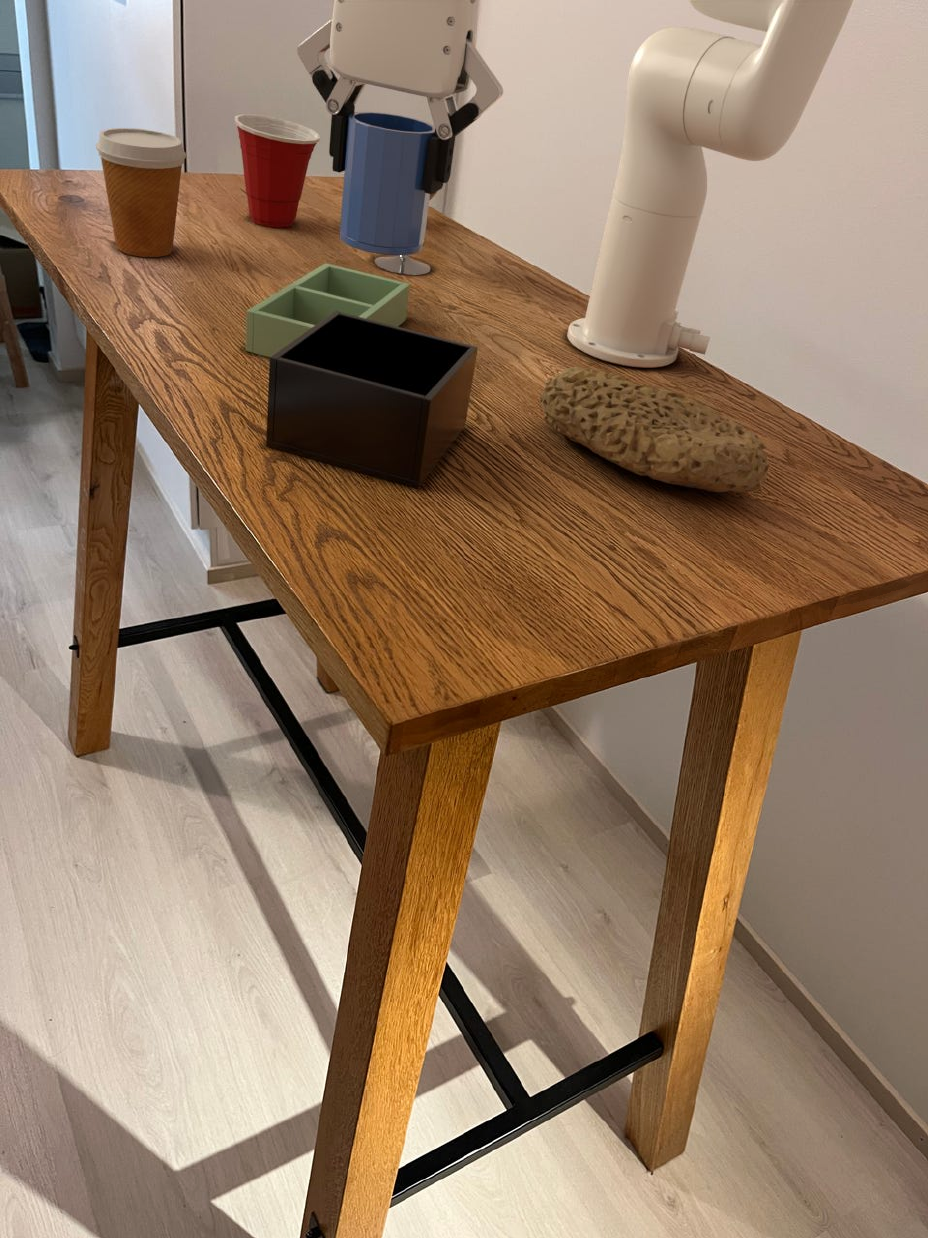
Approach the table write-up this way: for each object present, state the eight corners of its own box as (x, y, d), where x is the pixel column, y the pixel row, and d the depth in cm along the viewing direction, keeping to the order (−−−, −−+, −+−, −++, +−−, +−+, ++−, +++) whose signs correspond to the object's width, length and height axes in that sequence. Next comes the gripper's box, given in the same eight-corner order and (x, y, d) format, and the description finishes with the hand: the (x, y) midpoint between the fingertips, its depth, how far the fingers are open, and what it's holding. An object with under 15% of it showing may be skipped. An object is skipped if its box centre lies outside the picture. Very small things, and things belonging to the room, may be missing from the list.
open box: (464, 427, 91) (478, 346, 87) (417, 488, 81) (430, 400, 76) (328, 391, 93) (335, 310, 89) (265, 446, 83) (269, 357, 78)
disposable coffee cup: (204, 253, 120) (204, 144, 113) (142, 267, 113) (138, 151, 106) (146, 231, 123) (143, 124, 116) (82, 243, 116) (75, 129, 109)
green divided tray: (406, 319, 112) (410, 283, 110) (340, 376, 97) (343, 335, 94) (322, 298, 113) (325, 262, 111) (245, 350, 98) (246, 310, 96)
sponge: (519, 443, 93) (681, 504, 79) (536, 356, 91) (706, 404, 76) (618, 449, 101) (781, 505, 87) (636, 369, 99) (807, 414, 85)
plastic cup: (308, 239, 131) (315, 138, 124) (224, 225, 130) (226, 123, 123) (319, 217, 140) (326, 122, 133) (240, 204, 139) (243, 108, 132)
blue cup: (433, 242, 85) (448, 125, 80) (406, 261, 79) (420, 137, 74) (358, 224, 86) (368, 107, 81) (326, 241, 81) (335, 117, 75)
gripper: (549, -69, 71) (504, 196, 82) (321, -113, 74) (306, 149, 84) (523, -73, 65) (478, 214, 76) (276, -120, 68) (265, 163, 78)
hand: (388, 177), depth 80 cm, fingers closed on blue cup, 6 cm apart
